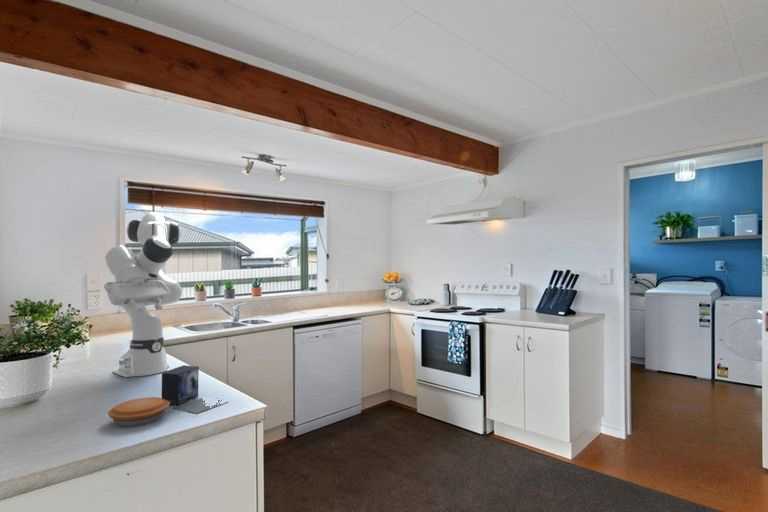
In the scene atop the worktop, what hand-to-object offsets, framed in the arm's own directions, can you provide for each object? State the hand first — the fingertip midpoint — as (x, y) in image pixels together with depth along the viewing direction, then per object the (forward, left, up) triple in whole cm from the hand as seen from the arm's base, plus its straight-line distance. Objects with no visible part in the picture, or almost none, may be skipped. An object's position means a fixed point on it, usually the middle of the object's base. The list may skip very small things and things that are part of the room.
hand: (149, 309), depth 143 cm
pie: (+20, -16, -30) cm, 39 cm away
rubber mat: (+26, 0, -29) cm, 39 cm away
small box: (+16, 0, -30) cm, 34 cm away
